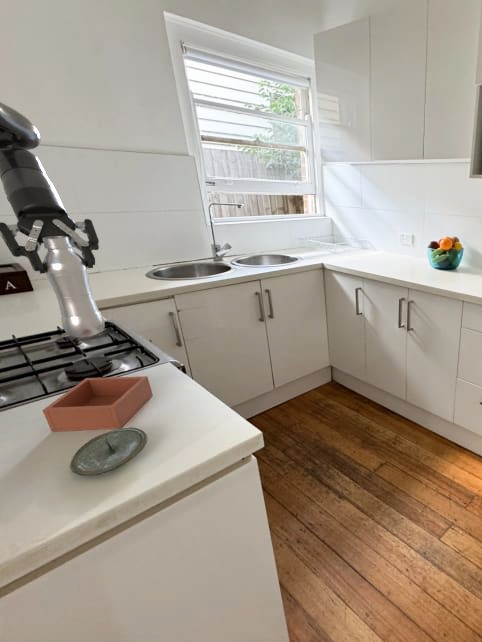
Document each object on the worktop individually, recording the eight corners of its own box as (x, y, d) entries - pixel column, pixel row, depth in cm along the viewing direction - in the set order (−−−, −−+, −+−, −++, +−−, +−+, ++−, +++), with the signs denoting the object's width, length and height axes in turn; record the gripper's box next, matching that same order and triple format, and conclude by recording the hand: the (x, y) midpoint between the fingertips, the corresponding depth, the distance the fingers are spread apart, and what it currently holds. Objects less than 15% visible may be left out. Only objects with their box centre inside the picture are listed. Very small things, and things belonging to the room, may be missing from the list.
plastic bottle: (65, 334, 80) (30, 236, 71) (105, 326, 84) (76, 233, 76) (68, 344, 75) (30, 241, 67) (110, 335, 80) (80, 238, 71)
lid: (163, 447, 68) (159, 420, 67) (123, 475, 58) (118, 444, 57) (102, 450, 67) (98, 423, 66) (52, 478, 57) (46, 447, 57)
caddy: (51, 431, 68) (42, 410, 67) (93, 397, 79) (86, 378, 77) (121, 428, 70) (113, 407, 68) (152, 395, 80) (147, 376, 79)
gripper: (-23, 184, 67) (12, 261, 65) (80, 185, 78) (113, 252, 75) (-14, 213, 73) (19, 285, 70) (81, 210, 83) (112, 273, 81)
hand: (67, 268), depth 73 cm, fingers closed on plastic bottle, 6 cm apart
